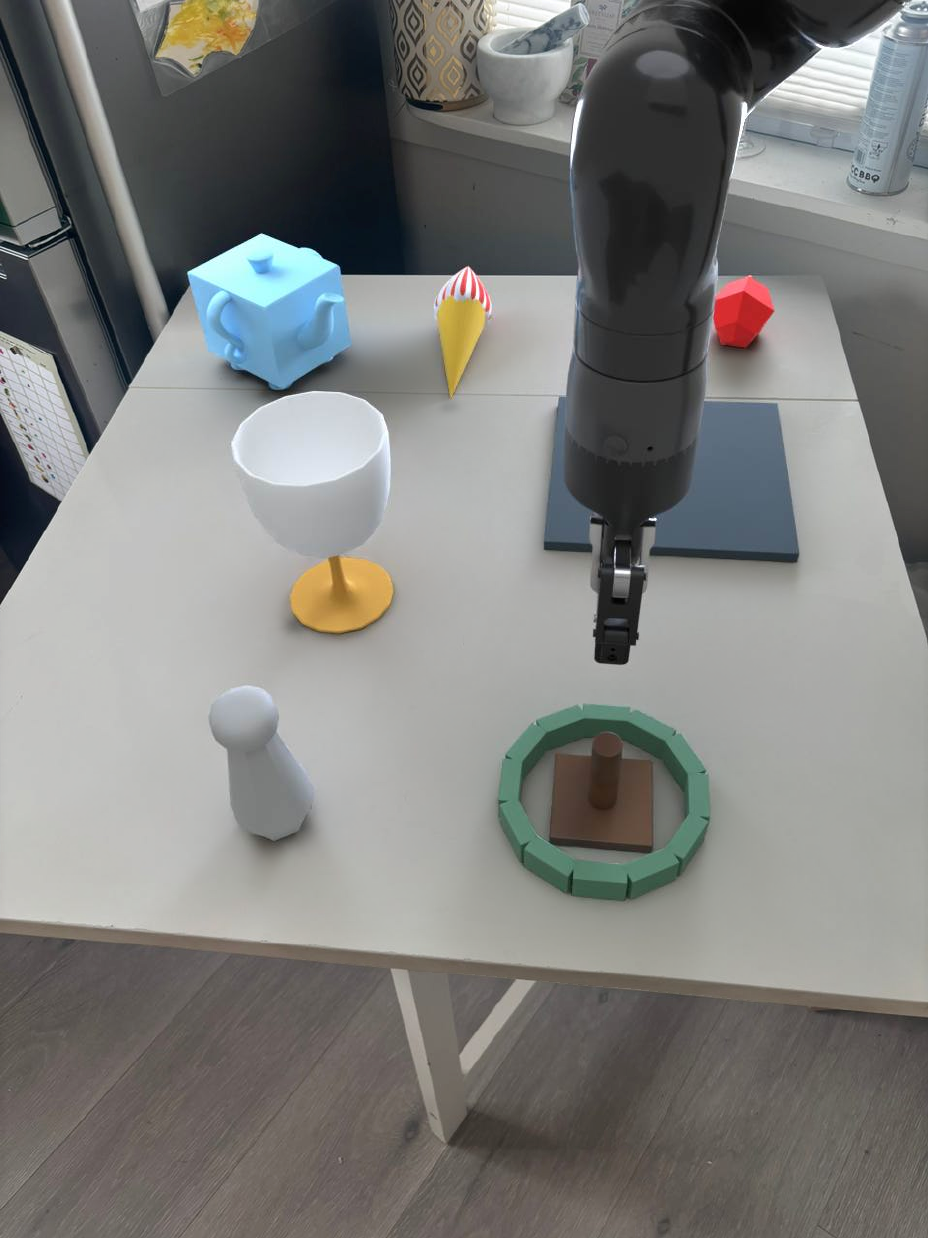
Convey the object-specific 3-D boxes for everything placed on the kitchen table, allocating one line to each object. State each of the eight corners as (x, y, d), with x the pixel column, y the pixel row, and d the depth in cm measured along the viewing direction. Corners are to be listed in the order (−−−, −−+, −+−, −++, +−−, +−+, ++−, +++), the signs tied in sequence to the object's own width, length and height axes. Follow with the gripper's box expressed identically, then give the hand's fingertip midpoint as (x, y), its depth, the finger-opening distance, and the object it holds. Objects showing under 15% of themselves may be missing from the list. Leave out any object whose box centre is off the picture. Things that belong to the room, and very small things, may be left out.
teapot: (193, 373, 111) (162, 265, 101) (296, 313, 118) (275, 207, 109) (304, 433, 102) (280, 320, 93) (406, 364, 110) (395, 253, 100)
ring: (701, 730, 75) (705, 711, 73) (708, 909, 65) (713, 891, 63) (510, 717, 76) (510, 698, 75) (490, 888, 67) (489, 871, 65)
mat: (776, 411, 101) (777, 402, 100) (797, 562, 86) (799, 553, 85) (558, 404, 103) (558, 396, 103) (543, 549, 89) (543, 541, 88)
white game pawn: (246, 780, 74) (204, 669, 64) (323, 780, 73) (291, 668, 64) (231, 851, 70) (184, 743, 60) (312, 851, 69) (277, 743, 60)
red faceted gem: (763, 318, 102) (780, 258, 105) (698, 318, 106) (716, 259, 108) (770, 361, 108) (786, 303, 111) (708, 359, 111) (725, 302, 114)
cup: (299, 665, 81) (256, 506, 68) (257, 575, 88) (211, 417, 76) (430, 615, 84) (412, 455, 71) (379, 533, 91) (354, 374, 79)
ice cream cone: (444, 426, 109) (462, 295, 118) (491, 406, 105) (505, 272, 115) (408, 393, 105) (429, 260, 114) (455, 371, 101) (473, 235, 111)
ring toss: (651, 768, 73) (661, 705, 67) (651, 853, 68) (662, 793, 62) (555, 760, 73) (557, 698, 68) (549, 844, 69) (550, 785, 63)
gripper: (705, 502, 50) (670, 699, 62) (696, 347, 60) (667, 543, 72) (557, 495, 51) (550, 690, 63) (571, 343, 61) (563, 537, 73)
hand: (612, 612), depth 67 cm, fingers open, 8 cm apart
